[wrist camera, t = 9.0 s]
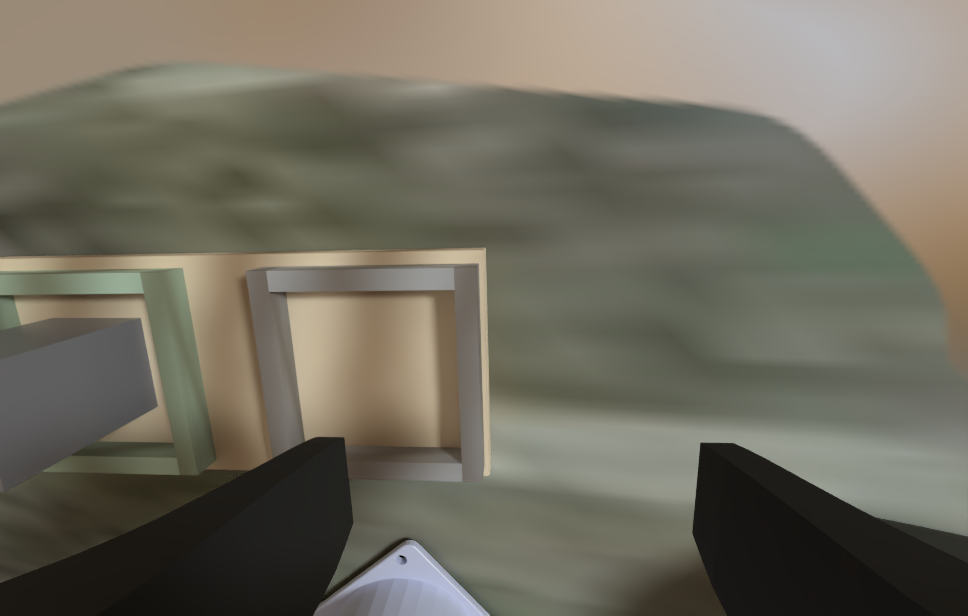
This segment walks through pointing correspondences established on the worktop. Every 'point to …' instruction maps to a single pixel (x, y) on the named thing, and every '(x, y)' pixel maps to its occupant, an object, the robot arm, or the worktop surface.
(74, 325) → the plug
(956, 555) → the battery charger
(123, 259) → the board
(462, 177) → the worktop surface
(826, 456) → the worktop surface
